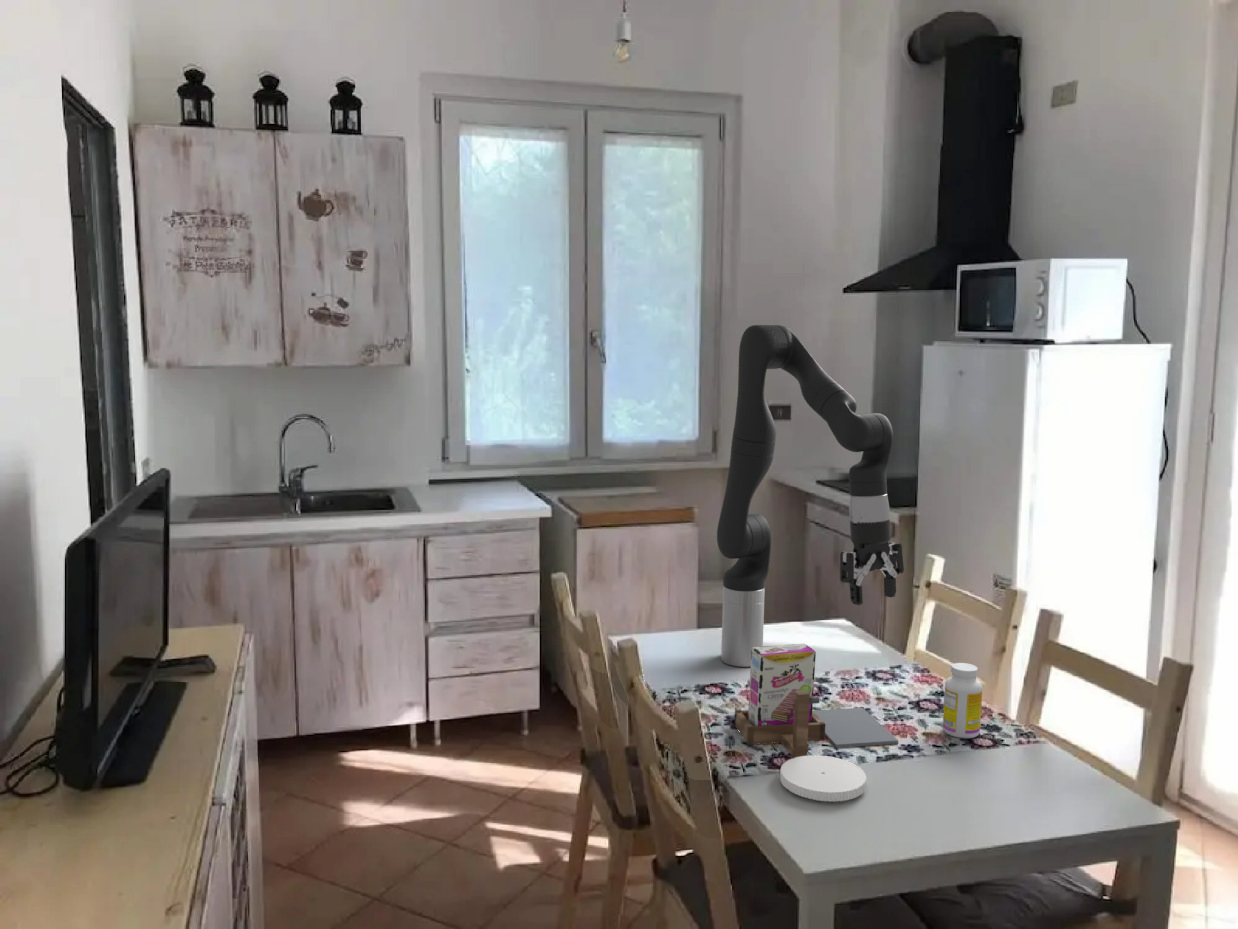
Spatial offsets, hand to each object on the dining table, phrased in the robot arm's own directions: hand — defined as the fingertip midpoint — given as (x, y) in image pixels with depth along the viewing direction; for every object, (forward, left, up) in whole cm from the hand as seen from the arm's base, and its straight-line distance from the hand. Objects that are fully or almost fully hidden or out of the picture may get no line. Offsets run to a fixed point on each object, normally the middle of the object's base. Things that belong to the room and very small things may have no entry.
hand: (873, 600), depth 201 cm
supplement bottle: (+12, +13, -23) cm, 29 cm away
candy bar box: (+7, -21, -23) cm, 32 cm away
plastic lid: (+29, -21, -23) cm, 43 cm away
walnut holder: (+7, -21, -23) cm, 32 cm away
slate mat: (+7, -7, -23) cm, 25 cm away
